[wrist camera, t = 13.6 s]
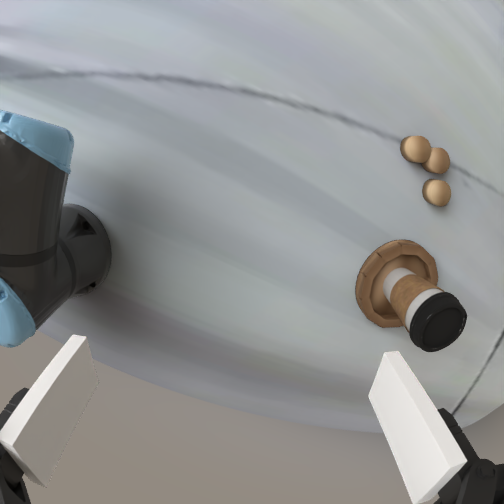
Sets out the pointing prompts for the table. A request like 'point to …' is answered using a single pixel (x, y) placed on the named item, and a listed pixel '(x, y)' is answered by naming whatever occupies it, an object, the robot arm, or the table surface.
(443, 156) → the bead
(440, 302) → the coffee cup
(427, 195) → the bead
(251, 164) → the table surface
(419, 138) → the bead
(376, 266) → the round tray
